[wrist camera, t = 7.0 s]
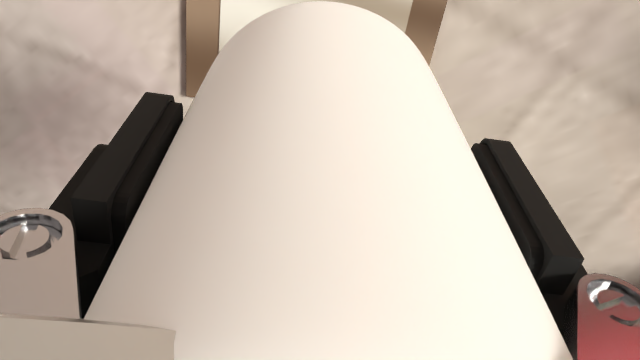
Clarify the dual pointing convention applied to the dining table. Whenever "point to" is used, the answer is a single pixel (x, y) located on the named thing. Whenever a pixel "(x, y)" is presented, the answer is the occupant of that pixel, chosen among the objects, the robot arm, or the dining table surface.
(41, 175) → the dining table surface
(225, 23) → the sketch board
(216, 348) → the can
